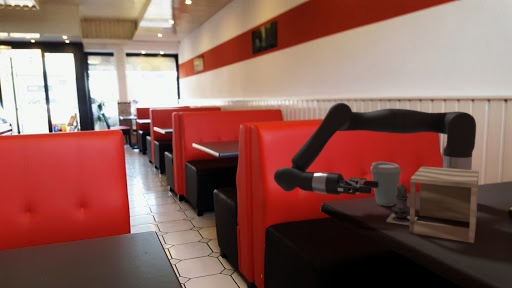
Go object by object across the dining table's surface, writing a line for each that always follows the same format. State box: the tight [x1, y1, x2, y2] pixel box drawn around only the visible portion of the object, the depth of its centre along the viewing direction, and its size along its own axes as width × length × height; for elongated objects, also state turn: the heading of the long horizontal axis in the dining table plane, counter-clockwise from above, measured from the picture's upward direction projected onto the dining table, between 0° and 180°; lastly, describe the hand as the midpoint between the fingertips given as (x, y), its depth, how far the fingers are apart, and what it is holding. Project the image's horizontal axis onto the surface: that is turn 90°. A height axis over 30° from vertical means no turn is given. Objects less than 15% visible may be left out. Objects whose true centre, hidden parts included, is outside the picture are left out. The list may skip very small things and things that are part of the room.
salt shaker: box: [391, 182, 410, 222], centre depth 118 cm, size 6×6×12 cm
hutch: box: [408, 166, 480, 244], centre depth 111 cm, size 19×16×16 cm
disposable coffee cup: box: [370, 161, 402, 207], centre depth 136 cm, size 11×11×15 cm
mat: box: [386, 213, 419, 226], centre depth 119 cm, size 8×8×1 cm
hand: (375, 187), depth 122 cm, fingers open, 8 cm apart
